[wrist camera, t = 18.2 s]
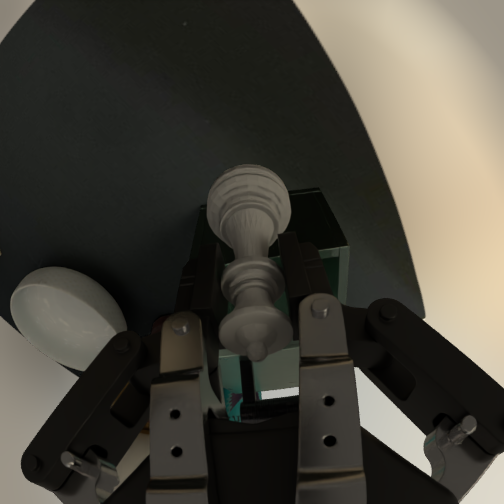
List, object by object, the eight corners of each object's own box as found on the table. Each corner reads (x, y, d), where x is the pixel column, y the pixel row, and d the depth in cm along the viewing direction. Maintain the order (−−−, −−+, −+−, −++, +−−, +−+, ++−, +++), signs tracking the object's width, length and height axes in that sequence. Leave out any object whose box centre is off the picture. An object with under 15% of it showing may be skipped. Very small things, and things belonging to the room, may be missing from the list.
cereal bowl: (129, 347, 43) (120, 385, 37) (38, 314, 38) (21, 347, 33) (145, 272, 34) (130, 317, 28) (28, 230, 29) (-1, 266, 24)
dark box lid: (174, 346, 16) (176, 430, 13) (381, 318, 15) (398, 401, 13) (234, 387, 31) (238, 427, 29) (337, 372, 31) (344, 413, 28)
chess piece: (276, 152, 15) (321, 291, 7) (295, 222, 17) (338, 377, 9) (195, 178, 15) (153, 330, 7) (224, 242, 18) (216, 400, 10)
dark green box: (200, 205, 29) (186, 269, 21) (319, 187, 28) (350, 245, 20) (234, 322, 39) (234, 387, 32) (321, 310, 39) (337, 373, 31)
